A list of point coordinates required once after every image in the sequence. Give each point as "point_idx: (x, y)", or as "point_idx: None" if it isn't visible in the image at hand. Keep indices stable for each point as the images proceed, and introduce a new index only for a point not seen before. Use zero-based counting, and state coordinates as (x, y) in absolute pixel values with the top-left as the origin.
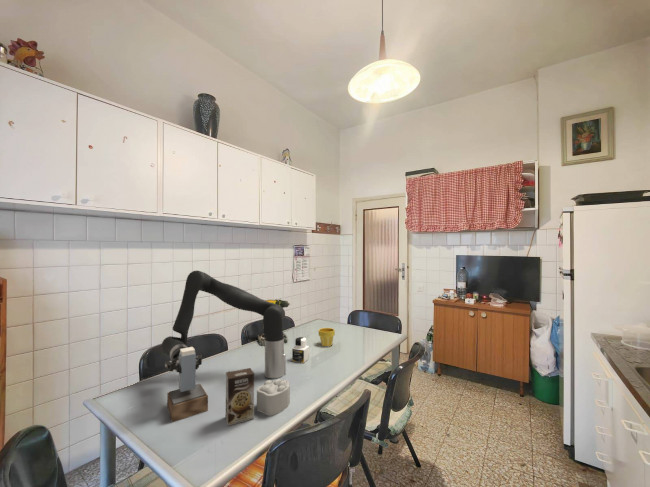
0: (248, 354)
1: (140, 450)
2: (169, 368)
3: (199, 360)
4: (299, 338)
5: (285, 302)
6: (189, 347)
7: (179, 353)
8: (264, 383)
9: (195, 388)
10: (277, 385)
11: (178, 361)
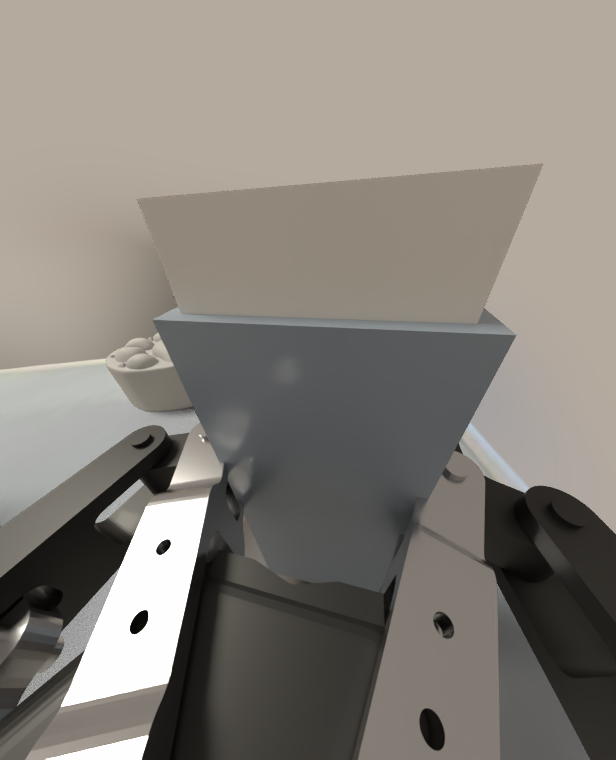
0: None
1: (477, 435)
2: (591, 656)
3: (177, 434)
4: None
5: None
6: (232, 193)
7: (485, 309)
8: (148, 362)
9: (265, 563)
10: (146, 351)
11: (443, 543)
